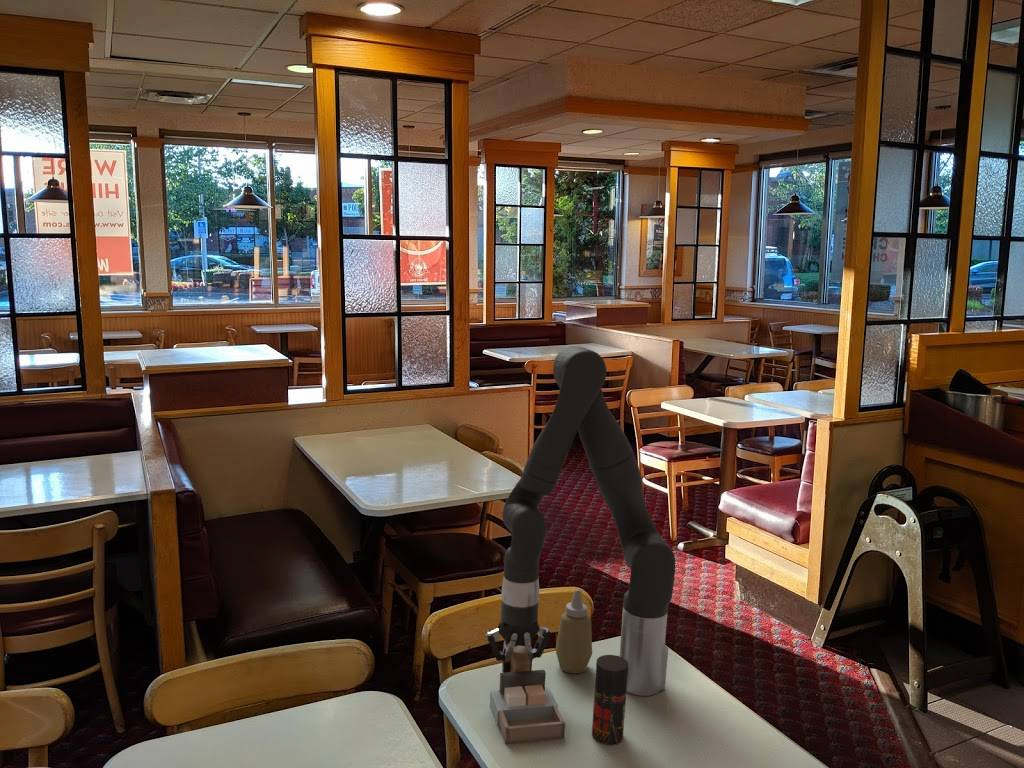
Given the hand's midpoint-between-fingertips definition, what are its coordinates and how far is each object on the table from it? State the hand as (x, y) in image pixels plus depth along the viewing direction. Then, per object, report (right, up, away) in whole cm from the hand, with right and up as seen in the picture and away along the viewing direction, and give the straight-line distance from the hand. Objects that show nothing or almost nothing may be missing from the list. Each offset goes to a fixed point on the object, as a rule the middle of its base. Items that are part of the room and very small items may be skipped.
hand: (516, 675), depth 165 cm
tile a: (+4, -2, -7) cm, 8 cm away
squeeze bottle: (+13, -3, +12) cm, 18 cm away
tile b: (0, -2, -8) cm, 8 cm away
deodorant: (+17, -7, -12) cm, 22 cm away
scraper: (0, 0, 0) cm, 0 cm away
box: (+3, -6, -12) cm, 14 cm away
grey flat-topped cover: (+1, -5, -6) cm, 8 cm away
